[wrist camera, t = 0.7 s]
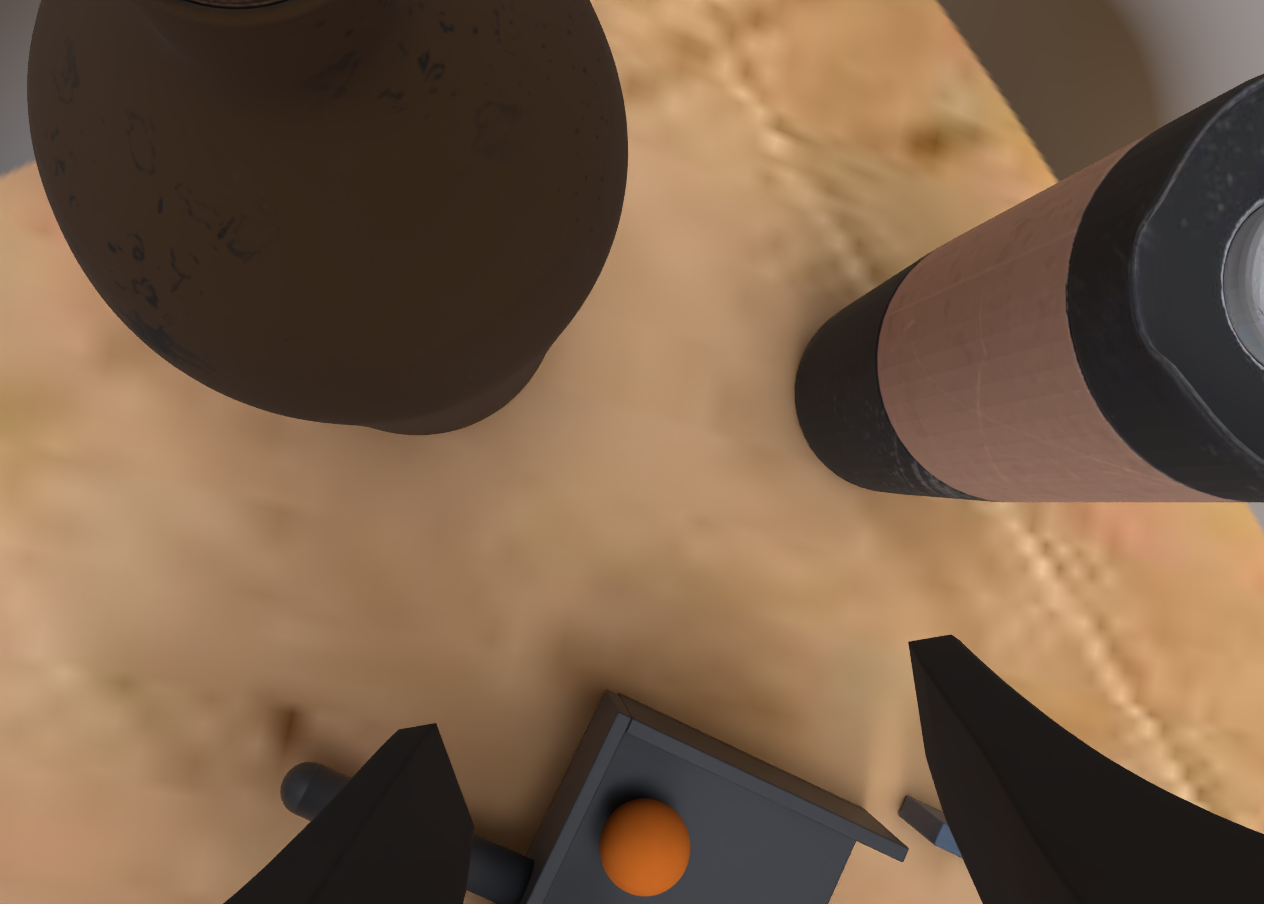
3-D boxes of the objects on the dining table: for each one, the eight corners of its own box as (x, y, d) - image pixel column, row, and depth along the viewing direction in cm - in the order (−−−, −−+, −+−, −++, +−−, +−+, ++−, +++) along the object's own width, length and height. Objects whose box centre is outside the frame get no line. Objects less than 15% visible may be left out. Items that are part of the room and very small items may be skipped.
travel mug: (1024, 388, 36) (1645, 265, 17) (897, 543, 36) (1392, 607, 16) (876, 250, 36) (1335, -49, 16) (743, 403, 35) (1055, 286, 15)
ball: (662, 898, 33) (658, 928, 30) (587, 849, 34) (577, 874, 31) (706, 820, 33) (708, 843, 30) (632, 772, 34) (626, 791, 31)
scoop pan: (865, 809, 35) (909, 848, 31) (709, 1156, 34) (736, 1242, 30) (388, 583, 33) (372, 595, 29) (205, 941, 32) (164, 1003, 28)
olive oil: (556, 469, 34) (696, 409, 9) (242, 435, 33) (-576, 263, 8) (587, 172, 35) (800, -632, 10) (280, 127, 33) (-372, -935, 8)
